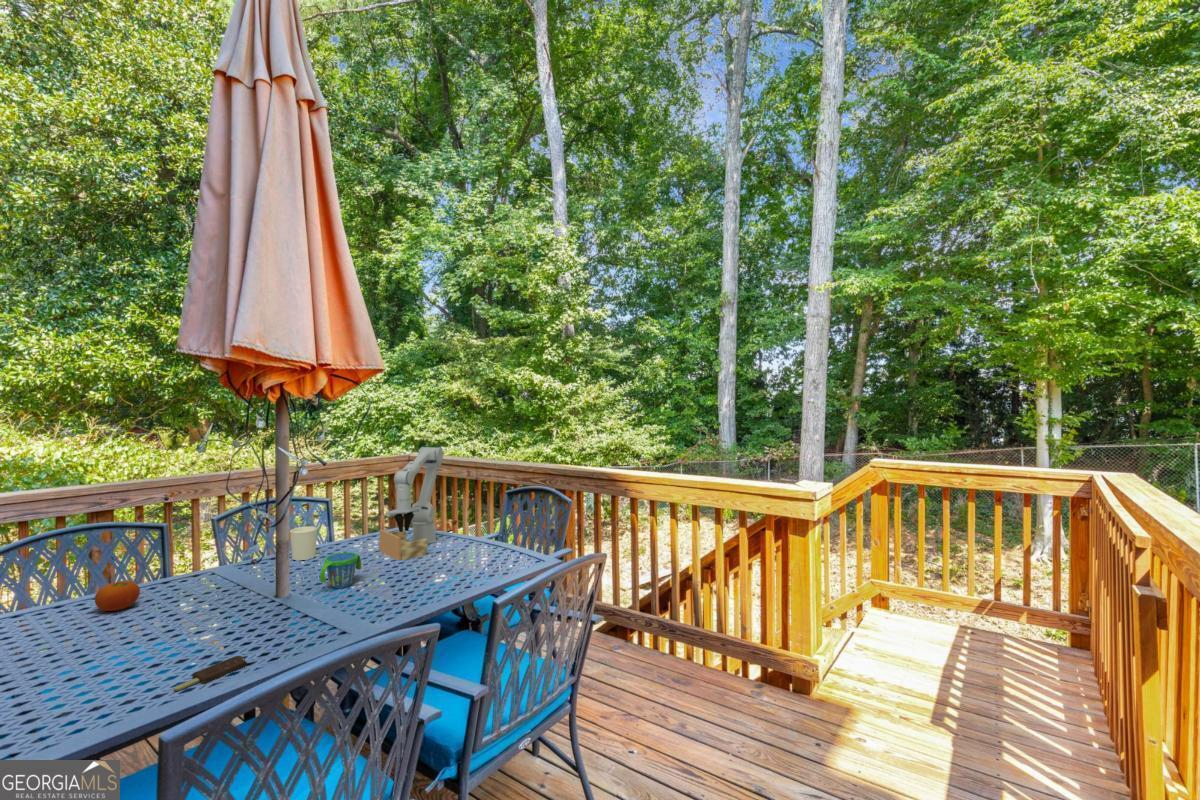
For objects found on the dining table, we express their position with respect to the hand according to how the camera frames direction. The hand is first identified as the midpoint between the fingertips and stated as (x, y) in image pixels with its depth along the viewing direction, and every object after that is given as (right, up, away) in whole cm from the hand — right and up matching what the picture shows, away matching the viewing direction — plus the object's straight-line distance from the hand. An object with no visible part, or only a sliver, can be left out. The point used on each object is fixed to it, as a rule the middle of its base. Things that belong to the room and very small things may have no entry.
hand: (403, 531), depth 224 cm
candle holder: (-38, -9, -8) cm, 40 cm away
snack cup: (-8, -10, -38) cm, 40 cm away
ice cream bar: (-10, -11, -98) cm, 99 cm away
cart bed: (0, -9, 0) cm, 9 cm away
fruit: (-67, -10, -59) cm, 90 cm away
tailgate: (-5, -9, -5) cm, 11 cm away
